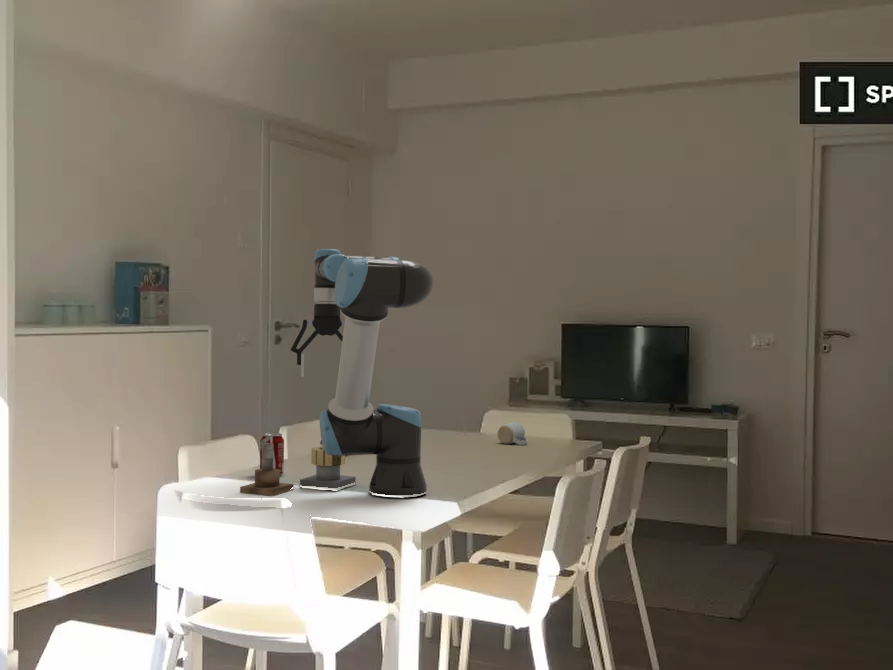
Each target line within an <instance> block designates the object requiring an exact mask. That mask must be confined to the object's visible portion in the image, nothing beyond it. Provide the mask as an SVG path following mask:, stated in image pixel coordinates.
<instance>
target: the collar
mask: <svg viewBox="0 0 893 670" xmlns="http://www.w3.org/2000/svg"><path fill="white" fill-rule="evenodd" d="M311 465H314V466H316V465H319V466H337V465H340V466H343V465H346V455H344V456H339V455H328V454H327V453H326V452H325V450H322V446H315V447H312V448H311Z"/></svg>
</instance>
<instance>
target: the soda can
mask: <svg viewBox="0 0 893 670" xmlns="http://www.w3.org/2000/svg"><path fill="white" fill-rule="evenodd" d="M282 435H283V434H282V433H279V432H278V433H277V432H266V433H262V437H261V439H260V441H259V442H260V443H259V444H260V445H259V446H260V447H259V469H262V444H263V443H273V469H279V470H280V475H284V472H285V471H284V470H285V468H284V465H285V439H284V437H283V436H282Z"/></svg>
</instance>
